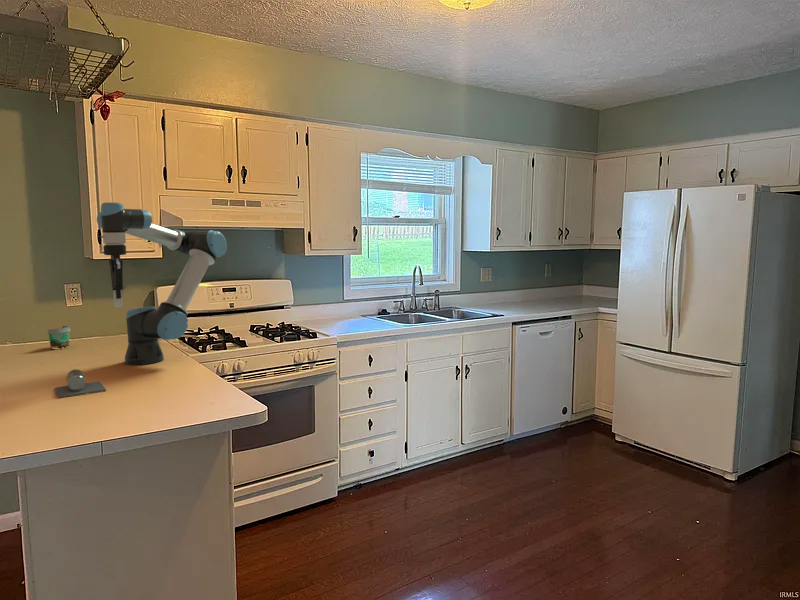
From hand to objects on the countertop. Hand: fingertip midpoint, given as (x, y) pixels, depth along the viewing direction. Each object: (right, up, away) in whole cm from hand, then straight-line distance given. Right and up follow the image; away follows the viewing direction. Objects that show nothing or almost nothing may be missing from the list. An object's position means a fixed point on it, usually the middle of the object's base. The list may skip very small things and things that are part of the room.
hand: (118, 307), depth 211 cm
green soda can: (-10, -25, -11) cm, 29 cm away
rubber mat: (-4, -29, -18) cm, 34 cm away
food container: (-57, -21, +59) cm, 84 cm away
